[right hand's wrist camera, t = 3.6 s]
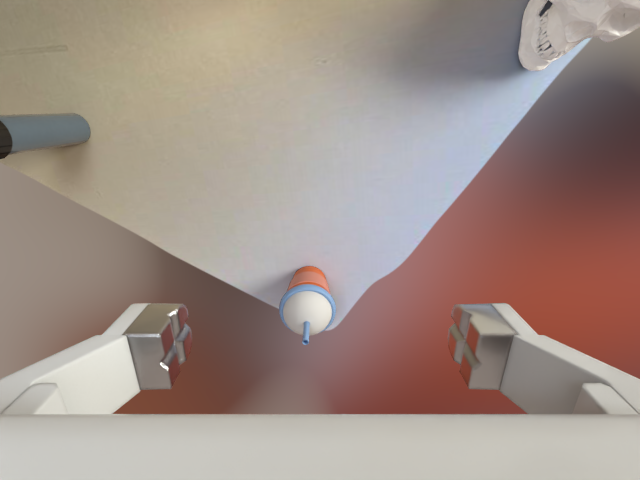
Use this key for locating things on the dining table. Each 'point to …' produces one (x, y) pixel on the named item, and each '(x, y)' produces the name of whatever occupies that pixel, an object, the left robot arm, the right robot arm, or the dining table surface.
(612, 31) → the skull
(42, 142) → the bottle
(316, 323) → the cup with straw
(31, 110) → the dining table surface
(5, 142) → the lid
